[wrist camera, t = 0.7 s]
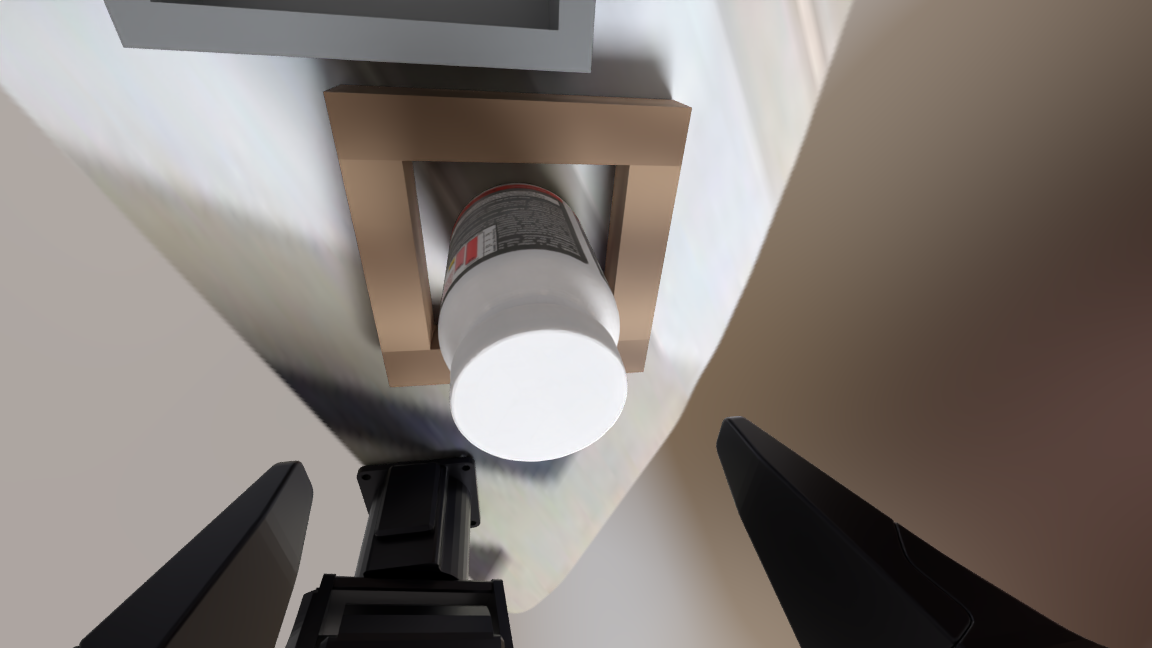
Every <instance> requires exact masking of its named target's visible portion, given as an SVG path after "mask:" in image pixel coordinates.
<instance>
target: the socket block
mask: <svg viewBox="0 0 1152 648" xmlns="http://www.w3.org/2000/svg"><path fill="white" fill-rule="evenodd" d="M323 93H324V97H325V102H326V106H327V111H328V115H329V120H330V124H331V129H332V133H333V137H334V142H335V146H336V151H337V155H338V160H339V164H340V168H341V173H342V177H343V182H344V186H345V191H346V195H347V200H348V204H349V208H350V213H351V217H352V222H353V226H354V231H355V235H356V239H357V244H358V248H359V253H360V257H361V262H362V266H363V271H364V275H365V279H366V284H367V288H368V293H369V297H370V302H371V306H372V310H373V315H374V319H375V324H376V328H377V333H378V337H379V342H380V346H381V350H382V355H383V359H384V364H385V368H386V373H387V377H388V381H389V386H390V387H403V386H420V385H436V384H450V370H449V368H448V367H447V365H446V363H445V361H444V358H443V356H442V353H441V349H440V345H439V339H438V324H436V325H435V323H434V316H433V308H432V301H431V294H430V287H429V279H428V272H427V265H426V258H425V250H424V243H423V236H422V229H421V221H420V214H419V207H418V199H417V192H416V185H415V178H414V170H413V163H412V161H444V162H494V163H544V164H594V165H616V167H615V176H614V186H613V195H612V205H611V214H610V224H609V233H608V243H607V252H606V262H605V271H604V276H605V278H606V280H607V282H608V284H609V286H610V288H611V291H612V293H613V295H614V298H615V301H616V305H617V309H618V312H619V320H620V333H619V340H618V344H617V349H618V351H619V354H620V356H621V359H622V362H623V365H624V367H625V371H626V373H634V372H643V371H644V365H645V360H646V355H647V349H648V344H649V338H650V333H651V327H652V322H653V317H654V311H655V306H656V300H657V295H658V289H659V284H660V279H661V273H662V268H663V262H664V257H665V252H666V246H667V241H668V235H669V230H670V224H671V219H672V214H673V208H674V203H675V197H676V192H677V186H678V181H679V176H680V170H681V165H682V159H683V154H684V148H685V143H686V138H687V132H688V127H689V121H690V116H691V110H692V108H691V107H689V106H687V105H684V104H682V103H679V102H677V101H675V100H668V99H647V98H625V97H603V96H582V95H560V94H538V93H517V92H495V91H473V90H452V89H430V88H408V87H387V86H365V85H344V84H340V85H338V86H336V87H333V88H331V89H329V90H326V91H324V92H323Z"/></svg>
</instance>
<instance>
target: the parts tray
mask: <svg viewBox="0 0 1152 648" xmlns="http://www.w3.org/2000/svg"><path fill="white" fill-rule="evenodd" d="M104 3H105V5H106V7H107V10H108V12H109V14H110V17H111V19H112V21H113V24H114V26H115V28H116V31H117V33H118V36H119V38H120V40H121V43H122V45H123V47H124V48H143V49H161V50H179V51H197V52H215V53H234V54H252V55H270V56H288V57H306V58H325V59H343V60H361V61H379V62H397V63H416V64H434V65H452V66H470V67H489V68H507V69H525V70H543V71H561V72H580V73H591V62H592V47H593V33H594V18H595V3H596V0H104Z"/></svg>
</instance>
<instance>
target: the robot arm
mask: <svg viewBox="0 0 1152 648" xmlns="http://www.w3.org/2000/svg"><path fill="white" fill-rule="evenodd" d="M716 444H717V445H716V447H717V452H718V456H719V459H720V461H721V464H722V467H723V470H724V473H725V476H726V479H727V482H728V485H729V488H730V490H731V493H732V496H733V499H734V502H735V505H736V508H737V510H738V513H739V515H740V517H741V520H742V522H743V524H744V526H745V529H746V531H747V533H748V535H749V537H750V539H751V541H752V544H753V546H754V548H755V550H756V552H757V554H758V557H759V559H760V561H761V563H762V565H763V567H764V569H765V572H766V574H767V576H768V578H769V580H770V582H771V584H772V587H773V589H774V591H775V593H776V595H777V597H778V599H779V601H780V604H781V606H782V608H783V610H784V612H785V614H786V616H787V619H788V621H789V623H790V625H791V627H792V629H793V632H794V634H795V636H796V638H797V640H798V642H799V644H800V647H801V648H1108V647H1105V646H1102V645H1100V644H1097V643H1095V642H1093V641H1091V640H1088V639H1086V638H1084V637H1082V636H1080V635H1078V634H1076V633H1074V632H1072V631H1070V630H1068V629H1066V628H1065V627H1063V626H1061V625H1059V624H1057V623H1056V622H1054V621H1052V620H1051V619H1049V618H1047V617H1046V616H1044V615H1042V614H1040V613H1039V612H1038V611H1036V610H1034V609H1033V608H1031V607H1029V606H1028V605H1026V604H1024V603H1023V602H1021V601H1019V600H1018V599H1016V598H1014V597H1013V596H1011V595H1009V594H1008V593H1006V592H1005V591H1003V590H1001V589H1000V588H998V587H996V586H994V585H993V584H991V583H990V582H988V581H986V580H985V579H983V578H981V577H980V576H978V575H977V574H975V573H973V572H972V571H970V570H968V569H967V568H965V567H964V566H962V565H960V564H959V563H957V562H956V561H954V560H952V559H951V558H949V557H948V556H946V555H945V554H943V553H941V552H940V551H938V550H937V549H936V548H934V547H933V546H931V545H930V544H928V543H927V542H925V541H924V540H922V539H920V538H919V537H918V536H916V535H914V534H913V533H911V532H910V531H909V530H907V529H906V528H904V527H903V526H901V525H900V524H898V523H896V522H895V523H894V521H893V520H892V519H891V518H890V517H888V516H887V515H885V514H884V513H882V512H881V511H879V510H878V509H876V508H875V507H874V506H872V505H871V504H869V503H868V502H866V501H865V500H863V499H862V498H861V497H859V496H858V495H856V494H855V493H853V492H852V491H850V490H849V489H848V488H846V487H845V486H843V485H842V484H840V483H839V482H837V481H836V480H834V479H833V478H832V477H830V476H829V475H827V474H826V473H824V472H823V471H821V470H820V469H818V468H817V467H816V466H814V465H813V464H811V463H810V462H808V461H807V460H805V459H804V458H802V457H801V456H799V455H798V454H797V453H795V452H794V451H792V450H791V449H789V448H788V447H787V446H785V445H784V444H782V443H781V442H779V441H778V440H776V439H775V438H773V437H772V436H771V435H769V434H768V433H766V432H765V431H763V430H762V429H760V428H759V427H757V426H756V425H755V424H753V423H752V422H750V421H749V420H747V419H746V418H744V417H741V416H736V417H727V418H725V419H724V420H723V422H722V426H721V429H720V432H719V435H718V439H717V443H716ZM466 465H467V466H466ZM357 480H358V483H359V486H360V489H361V492H362V496H363V499H364V502H365V505H366V508H367V511H368V514H369V518H368V522H367V526H366V530H365V534H364V539H363V543H362V547H361V551H360V556H359V559H358V563H357V568H356V572H355V576H354V577H345V576H336V574H324V575H323V578H322V581H321V584H320V587H319V588H316V590H313V591H311V592H308V593H306V594H304V595H303V598H302V602H301V605H300V608H299V611H298V614H297V617H296V620H295V623H294V626H293V629H292V632H291V635H290V637H289V640H288V642H287V645H286V647H285V648H513V643H512V636H511V630H510V624H509V617H508V611H507V605H506V599H505V593H504V586H503V581H502V580H501V579H492V580H491V581H473V580H468V572H469V543H470V528H474V527H477V526H479V525H480V508H479V498H478V487H477V477H476V467H475V461H474V459H473V458H470V457H460V458H449V459H437V460H426V461H414V462H403V463H392V464H380V465H369V466H363V467H361V468H360V469H359V470H358V474H357ZM312 499H313V488H312V485H311V482H310V480H309V478H308V476H307V473H306V471H305V469H304V466H303V465H302V463H301V462H299V461H289V462H280V463H277V464H275V465H274V466H272V467H271V468H270V469H269V470H268V471H267V472H266V473H264V474H263V475H262V476H261V477H260V478H259V479H258V480H257V481H256V482H255V483H253V484H252V485H251V486H250V487H249V488H248V489H247V490H246V491H245V492H244V493H243V494H241V495H240V496H239V497H238V498H237V499H236V500H235V501H234V502H233V503H231V504H230V505H229V506H228V507H227V508H226V509H225V510H224V511H223V512H222V513H221V514H219V515H218V516H217V517H216V518H215V519H214V520H213V521H212V522H211V523H210V524H208V525H207V526H206V527H205V528H204V529H203V530H202V531H201V532H200V533H199V534H197V535H196V536H195V537H194V538H193V539H192V540H191V541H190V542H189V543H188V544H187V545H186V546H184V547H183V548H182V549H181V550H180V551H179V552H178V553H177V554H176V555H175V556H173V557H172V558H171V559H170V560H169V561H168V562H167V563H166V564H165V565H164V566H163V567H161V568H160V569H159V570H158V571H157V572H156V573H155V574H154V575H153V576H151V577H150V578H149V579H148V580H147V581H146V582H145V583H144V584H143V585H142V586H141V587H139V588H138V589H137V590H136V591H135V592H134V593H133V594H132V595H131V596H130V597H128V598H127V599H126V600H125V601H124V602H123V603H122V604H121V605H120V606H119V607H118V608H116V609H115V610H114V611H113V612H112V613H111V614H110V615H109V616H108V617H107V618H105V619H104V620H103V621H102V622H101V623H100V624H99V625H98V626H97V627H96V628H95V629H93V630H92V631H91V632H90V633H89V634H88V635H87V636H86V637H85V638H84V639H82V640H81V642H80V644H79V646H76V647H74V648H274V647H275V644H276V641H277V638H278V635H279V632H280V628H281V625H282V622H283V619H284V616H285V613H286V610H287V606H288V603H289V600H290V597H291V594H292V591H293V587H294V584H295V581H296V577H297V573H298V569H299V564H300V560H301V554H302V550H303V545H304V540H305V535H306V530H307V525H308V520H309V514H310V509H311V505H312Z"/></svg>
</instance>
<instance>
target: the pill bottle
mask: <svg viewBox="0 0 1152 648" xmlns="http://www.w3.org/2000/svg"><path fill="white" fill-rule="evenodd" d="M619 333H620V320H619V312H618V309H617V305H616V301H615V298H614V295H613V293H612V291H611V288H610V286H609V284H608V282H607V280H606V278H605V276H604V274H603V272H602V269H601V267H600V265H599V263H598V261H597V258H596V256H595V254H594V252H593V250H592V248H591V246H590V243H589V241H588V239H587V237H586V234H585V232H584V230H583V228H582V226H581V224H580V222H579V220H578V218H577V216H576V215H575V214H574V212H573V211H572V209H571V208H570V207H569V206H568V205H567V204H566V203H565V202H564V201H563V200H562V199H561V198H560V197H558V196H557V195H556V194H554V193H552V192H550V191H548V190H546V189H544V188H542V187H538V186H535V185H531V184H524V183H511V184H503V185H499V186H495V187H493V188H490V189H488V190H486V191H484V192H482V193H481V194H479V195H478V196H476V197H475V198H474V199H472V200H471V201H470V202H469V203H468V204H467V205H466V206H465V208H464V209H463V210H462V212H461V213H460V215H459V216H458V218H457V220H456V222H455V225H454V228H453V230H452V234H451V239H450V247H449V254H448V260H447V267H446V274H445V280H444V287H443V294H442V299H441V306H440V313H439V321H438V339H439V345H440V349H441V353H442V356H443V358H444V361H445V363H446V365H447V367H448V368H449V370H450V396H449V400H450V410H451V414H452V417H453V420H454V422H455V424H456V426H457V427H458V429H459V431H460V432H461V433H462V434H463V435H464V436H465V437H466V438H467V439H468V440H469V441H470V442H471V443H472V444H473V445H475V446H476V447H478V448H479V449H481V450H483V451H485V452H487V453H489V454H492V455H494V456H498V457H501V458H504V459H510V460H516V461H543V460H551V459H556V458H560V457H563V456H566V455H569V454H572V453H574V452H577V451H579V450H581V449H583V448H585V447H587V446H589V445H590V444H592V443H593V442H595V441H596V440H598V439H599V438H600V437H601V436H603V435H604V434H605V433H606V432H607V431H608V430H609V429H610V428H611V427H612V426H613V424H614V423H615V422H616V420H617V419H618V417H619V415H620V413H621V411H622V410H623V407H624V404H625V401H626V397H627V376H626V371H625V367H624V365H623V362H622V359H621V356H620V354H619V351H618V349H617V344H618V340H619Z"/></svg>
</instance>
